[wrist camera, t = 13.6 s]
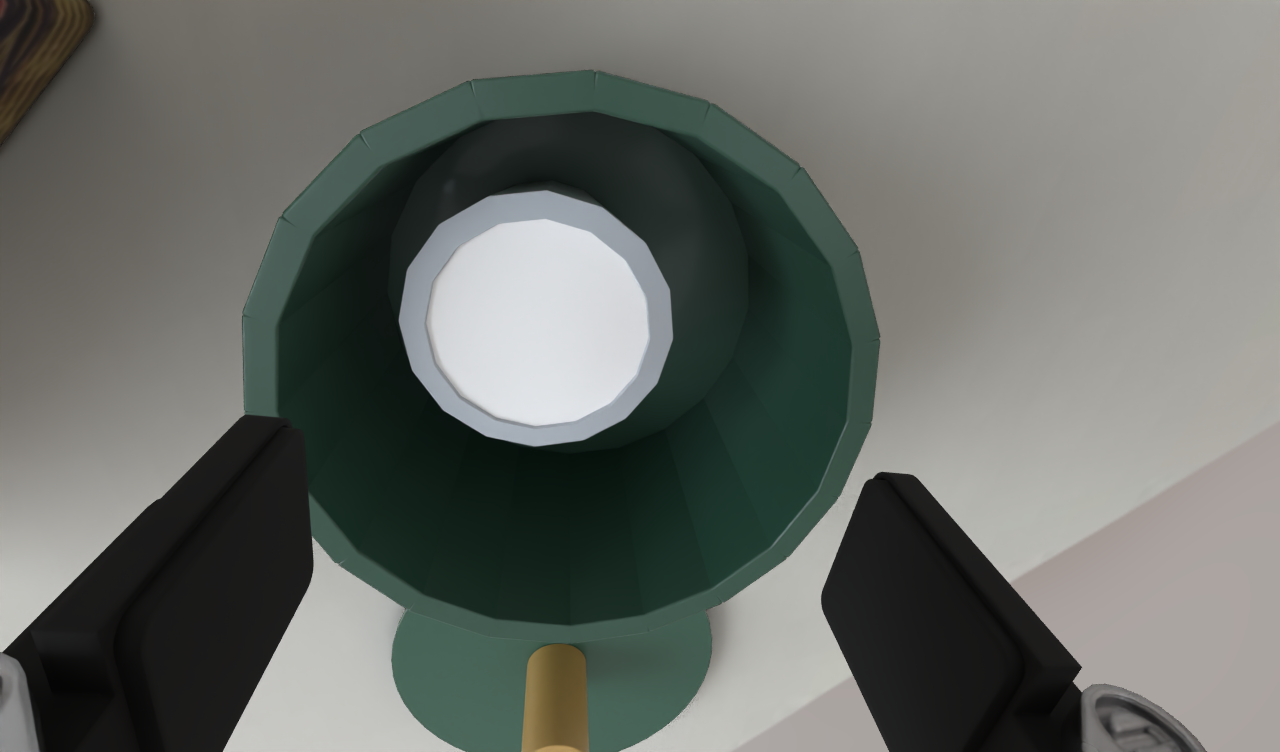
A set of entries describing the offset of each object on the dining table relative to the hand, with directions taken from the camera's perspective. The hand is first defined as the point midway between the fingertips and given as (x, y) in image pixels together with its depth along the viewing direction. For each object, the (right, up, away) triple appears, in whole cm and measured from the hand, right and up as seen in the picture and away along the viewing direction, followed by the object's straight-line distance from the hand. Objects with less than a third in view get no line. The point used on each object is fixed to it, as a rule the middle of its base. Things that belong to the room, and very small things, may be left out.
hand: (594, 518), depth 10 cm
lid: (-3, -11, +19) cm, 23 cm away
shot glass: (-3, +7, +11) cm, 13 cm away
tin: (-2, +5, +12) cm, 14 cm away
